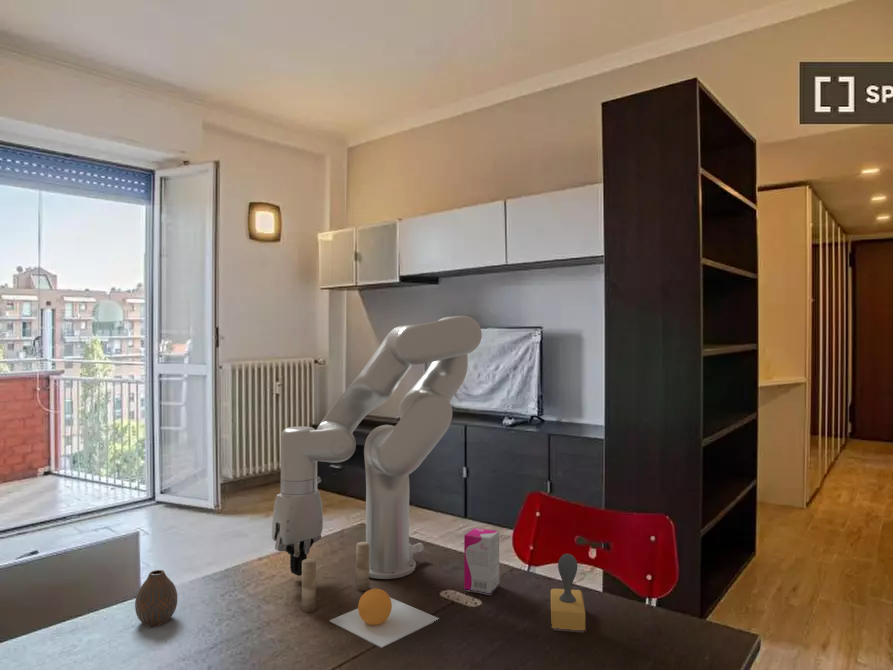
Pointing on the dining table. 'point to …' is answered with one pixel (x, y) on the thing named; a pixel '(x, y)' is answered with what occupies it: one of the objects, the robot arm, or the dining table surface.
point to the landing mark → (386, 624)
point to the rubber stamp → (567, 598)
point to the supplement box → (481, 560)
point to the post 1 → (308, 585)
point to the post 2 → (362, 566)
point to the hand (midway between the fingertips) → (298, 573)
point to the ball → (374, 606)
